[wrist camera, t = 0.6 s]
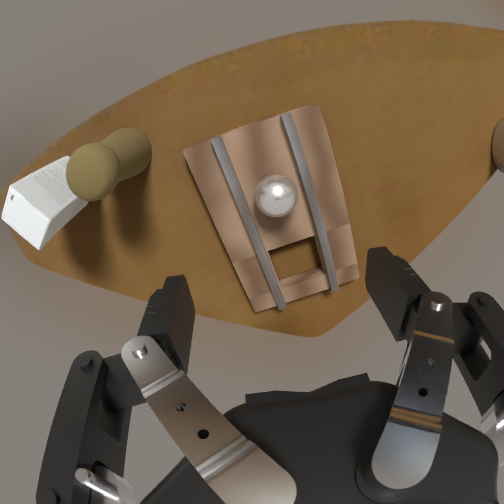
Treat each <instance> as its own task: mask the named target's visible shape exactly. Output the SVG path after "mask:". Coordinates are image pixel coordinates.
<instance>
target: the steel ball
mask: <svg viewBox="0 0 504 504" xmlns="http://www.w3.org/2000/svg"><path fill="white" fill-rule="evenodd" d="M297 200H298V192H297V189H296V186H295V184H294V183H293V182H292V181H291V180H290V179H289V178H287V177H285V176H283V175H278V174H274V175H269V176H267V177H265V178H263V179H262V180H261V181H260V182H259V183H258V185H257V187H256V190H255V202H256V205H257V207H258V208H259V209H260V211H261V212H263V213H264V214H265V215H267V216H270V217H283V216H285V215H287V214H289V213H290V212H291V211H292V210H293V209H294V208H295V206H296V204H297Z"/></svg>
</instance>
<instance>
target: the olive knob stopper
mask: <svg viewBox="0 0 504 504" xmlns="http://www.w3.org/2000/svg"><path fill="white" fill-rule="evenodd" d="M151 156H152V153H151V145H150V141H149V139H148V138H147V136H146V135H145V134H144V133H143V132H142V131H140V130H139V129H136V128H132V127H124V128H121V129H119V130H116V131H115V132H113V133H112V134H111V135H109V136H108V137H106V138H105V139H104V140H102V141H101V142H100V143H97V142H96V143H88V144H85V145H83V146H81V147H79V148H78V149H77V150H76V151H75V152H74V153H73V154H72V155H71V156H70V159H69V161H68V163H67V168H66V181H67V183H68V186H69V188H70V190H71V191H72V192H73V194H74V195H76V196H77V197H79V198H80V199H82V200H85V201H98V200H101V199H103V198H105V197H107V196H108V195H109V194H110V193H111V192H112V191H113V190H114V189H115V187H116V185H117V184H118V182H121V181H123V180H126V179H128V178H131V177H133V176H136V175H138V174H140V173H141V172H142V171H144V170H145V169H146V167H147V166H148V164H149V162H150V159H151Z"/></svg>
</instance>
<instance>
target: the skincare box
mask: <svg viewBox="0 0 504 504" xmlns="http://www.w3.org/2000/svg"><path fill="white" fill-rule="evenodd" d="M69 159H70V157H69V156H65V157H63V158H61V159H59V160H57V161H55V162H53V163H51V164H49V165H47V166H45V167H43V168H41V169H39V170H37V171H35V172H33V173H32V174H30V175H28V176H26V177H24V178H22V179H21V180H19V181H17V182H15V183H14V184H12V185H10V187H9V190H8V194H7V198H6V201H5V205H4V209H3V213H2V220H4V221H5V222H6V223H7V224H8V225H9V226H11V227H12V228H13V229H14V230H15V231H16V232H17V233H19V234H20V235H21V236H22V237H23V238H25V239H26V240H27V241H28V242H29V243H31V244H32V245H33V246H34V247H36V248H37V249H38V250H41V249H42V247H43V246H44V245H45V244H46V243H47V242H48V241H49V240H50V239H51V238H52V237H53V236H54V235H55V234H56V233H57V232H58V231H59V230H60V229H61V228H62V227H63V226H64V225H66V224H67V223H68V222H69V221H70V220H71V219H72V218H73V217H74V216H75V215H76V214H77V213H78V212H79V211H81V210H82V209H83V208H84V207H85V206H86V205H87V204H88V202H89V201H85V200H82V199H80V198H79V197H77V196H76V195H74V194H73V192H72V191H71V190H70V188H69V186H68V183H67V181H66V168H67V163H68V161H69Z"/></svg>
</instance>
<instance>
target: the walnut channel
mask: <svg viewBox="0 0 504 504" xmlns="http://www.w3.org/2000/svg"><path fill="white" fill-rule="evenodd" d="M183 154H184V156H185V158H186V161H187V163H188V165H189V167H190V170H191V172H192V174H193V177H194V179H195V181H196V183H197V186H198V188H199V190H200V193H201V195H202V197H203V199H204V202H205V204H206V206H207V208H208V211H209V213H210V215H211V217H212V220H213V222H214V224H215V226H216V228H217V231H218V233H219V235H220V237H221V239H222V242H223V244H224V246H225V248H226V250H227V253H228V255H229V257H230V259H231V261H232V263H233V266H234V268H235V270H236V272H237V274H238V276H239V279H240V281H241V283H242V285H243V287H244V289H245V291H246V294H247V296H248V298H249V300H250V302H251V304H252V306H253V309H254V311H255V312H258V311H262V310H265V309H268V308H271V307H274V306H278V308H279V310H281V309H284V308H286V303H287V302H290V301H293V300H296V299H299V298H302V297H305V296H308V295H311V294H314V293H317V292H320V291H323V290H326V289H329V288H331V291H332V292H335V291H338V290H339V286H338V285H340V284H343V283H346V282H349V281H352V280H354V279H357V278H359V272H358V265H357V259H356V254H355V248H354V243H353V237H352V232H351V227H350V222H349V217H348V212H347V208H346V203H345V199H344V194H343V190H342V186H341V182H340V178H339V174H338V170H337V166H336V162H335V158H334V154H333V151H332V147H331V143H330V140H329V136H328V133H327V129H326V126H325V123H324V119H323V116H322V113H321V110H320V107H319V104H312V105H309V106H305V107H301V108H298V109H294V110H291V111H288V112H284V113H281V114H278V115H274V116H271V117H268V118H265V119H262V120H259V121H256V122H253V123H250V124H247V125H244V126H241V127H239V128H236V129H233V130H230V131H228V132H225V133H222V134H220V135H217V136H214V137H212V138H209V139H207V140H204V141H202V142H199V143H197V144H194V145H192V146H190V147H187V148H185V149H184V150H183ZM274 174H278V175H283V176H285V177H287V178H289V179H290V180H291V181H292V182H293V183H294V184H295V186H296V189H297V192H298V200H297V204H296V206H295V208H294V209H293V210H292V211H291V212H290V213H289V214H287V215H285V216H283V217H270V216H267V215H265V214H264V213H263V212H261V211H260V209H259V208H258V207H257V205H256V202H255V190H256V187H257V185H258V183H259V182H260V181H261V180H262V179H263V178H265V177H267V176H269V175H274ZM311 236H314V239H315V243H316V247H317V251H318V254H319V258H320V262H321V266H320V267H317V268H315V269H312V270H309V271H306V272H303V273H300V274H297V275H294V276H291V277H288V278H285V279H282V280H279V277H278V274H277V272H276V269H275V266H274V264H273V261H272V258H271V255H270V253H269V250H272V249H275V248H278V247H281V246H284V245H287V244H290V243H293V242H296V241H299V240H302V239H305V238H308V237H311Z"/></svg>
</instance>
